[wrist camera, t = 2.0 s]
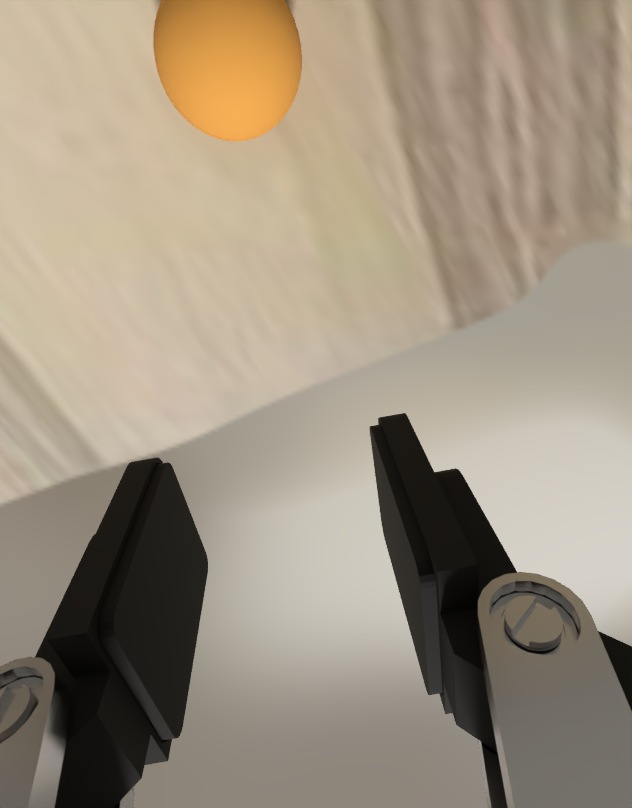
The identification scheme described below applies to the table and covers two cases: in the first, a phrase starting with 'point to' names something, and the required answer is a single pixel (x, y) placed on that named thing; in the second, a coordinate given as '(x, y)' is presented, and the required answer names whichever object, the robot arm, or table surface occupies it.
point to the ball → (228, 63)
